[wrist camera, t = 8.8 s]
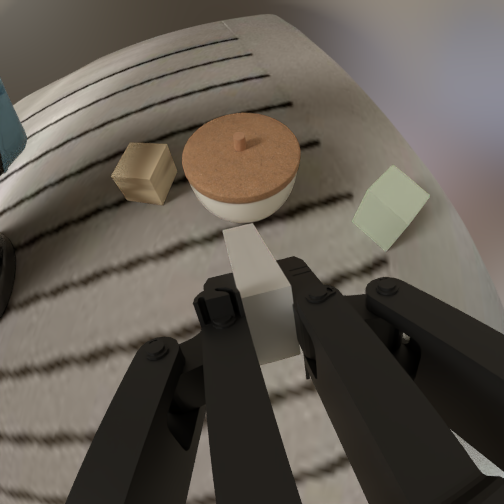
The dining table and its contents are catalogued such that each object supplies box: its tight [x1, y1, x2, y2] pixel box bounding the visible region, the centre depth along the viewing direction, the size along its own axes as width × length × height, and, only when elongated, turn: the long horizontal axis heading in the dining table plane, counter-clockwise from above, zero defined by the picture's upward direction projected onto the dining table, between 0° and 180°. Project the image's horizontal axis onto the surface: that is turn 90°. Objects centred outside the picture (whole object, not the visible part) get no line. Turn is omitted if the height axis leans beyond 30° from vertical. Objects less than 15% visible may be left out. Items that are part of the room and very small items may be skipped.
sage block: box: [352, 165, 430, 252], centre depth 28 cm, size 5×5×6 cm
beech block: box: [111, 143, 177, 205], centre depth 31 cm, size 5×5×5 cm
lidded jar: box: [182, 113, 300, 223], centre depth 28 cm, size 11×11×9 cm
